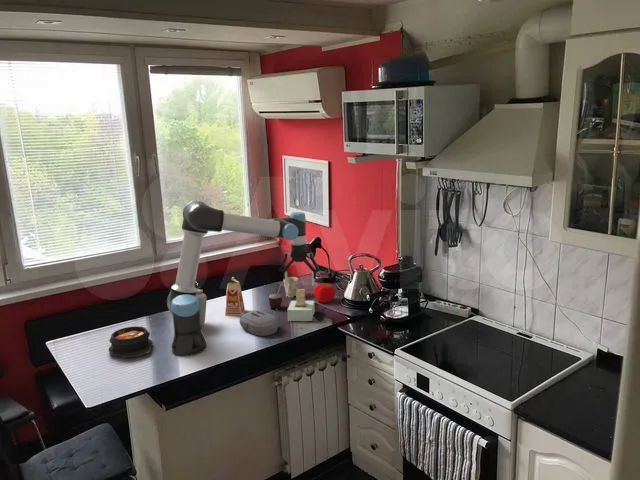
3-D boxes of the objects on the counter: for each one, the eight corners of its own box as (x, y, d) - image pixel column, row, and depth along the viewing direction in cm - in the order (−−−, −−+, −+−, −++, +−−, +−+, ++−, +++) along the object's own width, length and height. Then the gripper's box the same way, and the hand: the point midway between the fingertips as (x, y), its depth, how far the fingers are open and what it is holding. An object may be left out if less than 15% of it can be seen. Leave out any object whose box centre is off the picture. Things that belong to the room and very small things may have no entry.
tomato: (311, 304, 281) (310, 286, 279) (317, 297, 291) (317, 279, 289) (332, 305, 277) (332, 287, 275) (338, 298, 288) (337, 281, 286)
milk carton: (242, 315, 267) (239, 278, 263) (224, 315, 267) (221, 279, 263) (245, 309, 276) (242, 273, 271) (228, 309, 276) (225, 273, 272)
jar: (171, 326, 239) (186, 274, 241) (160, 319, 251) (174, 270, 253) (207, 332, 251) (221, 282, 253) (195, 325, 262) (208, 278, 264)
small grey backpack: (235, 328, 250) (260, 340, 236) (234, 312, 248) (259, 323, 234) (260, 320, 260) (285, 331, 246) (259, 304, 258) (285, 314, 244)
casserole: (102, 346, 234) (100, 329, 232) (143, 336, 245) (142, 319, 243) (117, 366, 214) (114, 347, 212) (161, 353, 225) (159, 335, 223)
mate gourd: (266, 307, 277) (265, 281, 274) (279, 304, 281) (278, 278, 278) (273, 311, 271) (272, 284, 268) (286, 308, 275) (285, 281, 272)
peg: (304, 317, 261) (303, 291, 258) (297, 317, 261) (296, 291, 258) (305, 315, 265) (304, 289, 262) (298, 315, 265) (297, 289, 262)
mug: (299, 293, 299) (299, 277, 297) (296, 300, 287) (295, 283, 284) (285, 293, 300) (284, 277, 297) (281, 300, 288) (281, 283, 285)
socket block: (311, 321, 256) (311, 310, 254) (287, 321, 257) (287, 310, 256) (314, 311, 269) (314, 300, 268) (291, 311, 270) (291, 300, 269)
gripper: (324, 241, 257) (324, 282, 262) (275, 241, 259) (276, 282, 264) (323, 245, 250) (323, 287, 254) (272, 245, 252) (273, 286, 257)
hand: (299, 284), depth 259 cm, fingers open, 13 cm apart
